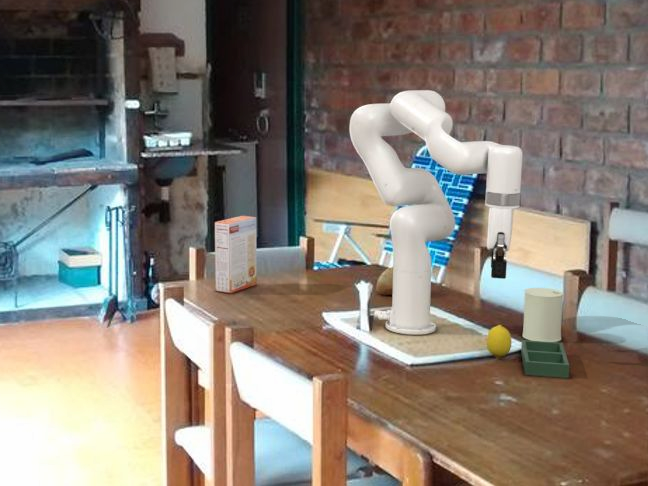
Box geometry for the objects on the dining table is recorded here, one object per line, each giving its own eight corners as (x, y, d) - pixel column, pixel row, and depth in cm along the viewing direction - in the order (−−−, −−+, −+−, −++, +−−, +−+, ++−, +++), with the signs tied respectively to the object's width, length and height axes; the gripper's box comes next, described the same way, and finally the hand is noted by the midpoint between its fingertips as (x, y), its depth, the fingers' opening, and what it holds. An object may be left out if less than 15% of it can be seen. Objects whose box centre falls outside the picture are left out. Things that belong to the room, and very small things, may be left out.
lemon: (511, 356, 234) (512, 323, 233) (509, 363, 229) (511, 329, 228) (486, 354, 236) (488, 320, 235) (484, 361, 231) (486, 326, 230)
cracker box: (241, 282, 308) (241, 214, 306) (257, 285, 305) (258, 216, 302) (213, 291, 297) (213, 220, 294) (230, 294, 293) (230, 222, 291)
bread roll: (431, 294, 294) (432, 267, 293) (387, 299, 288) (388, 271, 287) (413, 287, 303) (413, 261, 302) (369, 292, 297) (370, 265, 296)
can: (563, 343, 245) (565, 295, 243) (523, 341, 247) (525, 293, 245) (559, 333, 254) (561, 286, 252) (520, 331, 256) (522, 284, 254)
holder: (525, 375, 221) (525, 361, 221) (521, 352, 238) (521, 339, 237) (568, 378, 219) (569, 364, 218) (561, 355, 236) (562, 342, 235)
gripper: (485, 193, 240) (481, 263, 242) (485, 204, 223) (481, 280, 225) (518, 194, 238) (514, 266, 240) (520, 206, 221) (516, 283, 224)
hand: (498, 273), depth 233 cm, fingers open, 9 cm apart
